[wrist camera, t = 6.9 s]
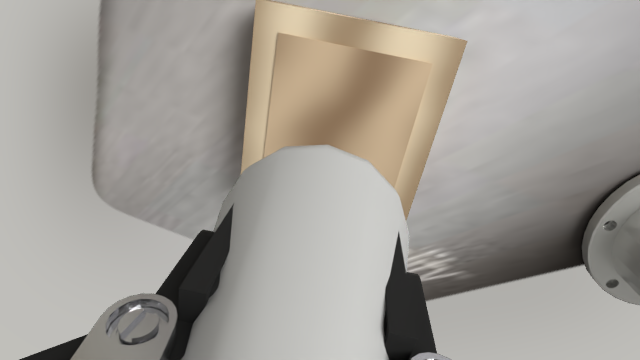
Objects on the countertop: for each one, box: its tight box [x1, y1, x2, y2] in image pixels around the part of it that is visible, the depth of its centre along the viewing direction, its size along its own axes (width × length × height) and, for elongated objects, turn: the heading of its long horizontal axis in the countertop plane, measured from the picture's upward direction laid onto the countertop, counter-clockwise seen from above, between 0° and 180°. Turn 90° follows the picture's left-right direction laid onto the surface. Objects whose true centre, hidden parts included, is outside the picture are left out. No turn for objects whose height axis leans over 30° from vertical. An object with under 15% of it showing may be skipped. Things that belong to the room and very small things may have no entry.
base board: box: [241, 0, 467, 220], centre depth 24 cm, size 12×12×3 cm
